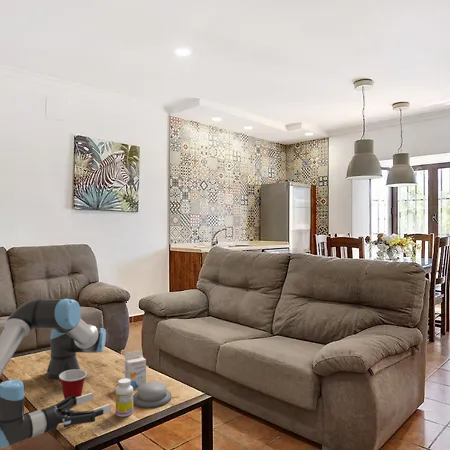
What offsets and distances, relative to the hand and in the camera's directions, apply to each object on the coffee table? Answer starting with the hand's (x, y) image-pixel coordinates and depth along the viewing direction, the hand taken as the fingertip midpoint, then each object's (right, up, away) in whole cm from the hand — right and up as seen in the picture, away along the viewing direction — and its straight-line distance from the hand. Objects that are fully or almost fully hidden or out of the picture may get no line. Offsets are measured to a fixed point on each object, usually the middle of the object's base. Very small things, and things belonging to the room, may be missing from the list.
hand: (101, 401), depth 149 cm
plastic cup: (-17, -8, +16) cm, 25 cm away
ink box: (+5, -8, +34) cm, 36 cm away
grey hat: (+15, -8, +19) cm, 26 cm away
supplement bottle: (+7, -8, +7) cm, 12 cm away
